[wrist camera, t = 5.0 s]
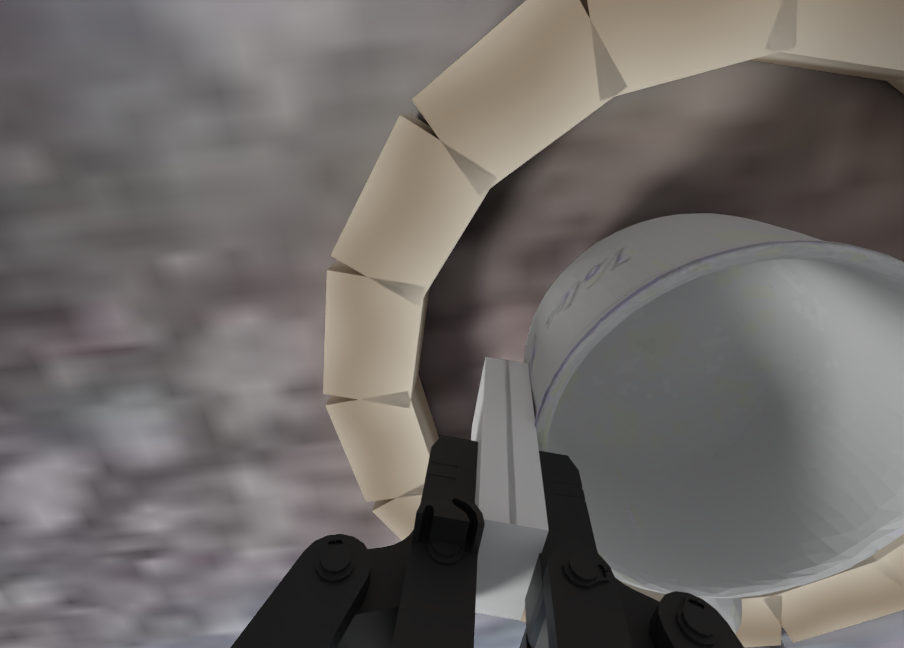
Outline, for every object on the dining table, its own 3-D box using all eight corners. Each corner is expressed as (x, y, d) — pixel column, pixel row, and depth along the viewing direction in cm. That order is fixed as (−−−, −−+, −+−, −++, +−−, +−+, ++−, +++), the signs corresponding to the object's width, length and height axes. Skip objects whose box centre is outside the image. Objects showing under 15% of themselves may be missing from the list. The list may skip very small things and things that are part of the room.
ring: (329, 557, 26) (284, 677, 20) (362, -146, 13) (270, -321, 8) (867, 652, 25) (970, 804, 20) (1408, 6, 13) (2080, -71, 7)
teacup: (536, 178, 17) (566, 228, 10) (851, 200, 16) (1136, 271, 9) (498, 478, 23) (499, 650, 15) (730, 502, 22) (844, 694, 15)
